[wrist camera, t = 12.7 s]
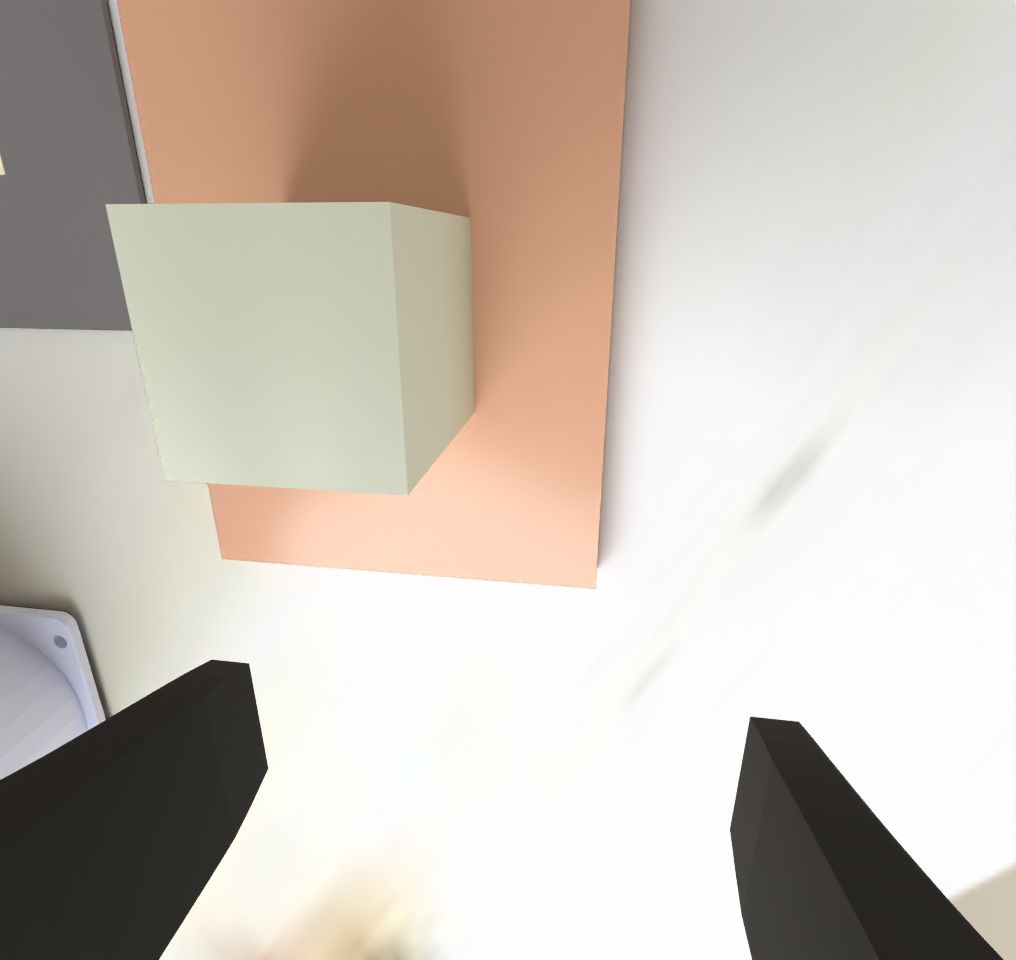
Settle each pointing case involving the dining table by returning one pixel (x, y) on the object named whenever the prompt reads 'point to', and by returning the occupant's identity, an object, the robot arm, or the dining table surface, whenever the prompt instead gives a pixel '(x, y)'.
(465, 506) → the plate
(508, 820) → the dining table surface
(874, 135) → the dining table surface
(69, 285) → the mat
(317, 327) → the sage block
